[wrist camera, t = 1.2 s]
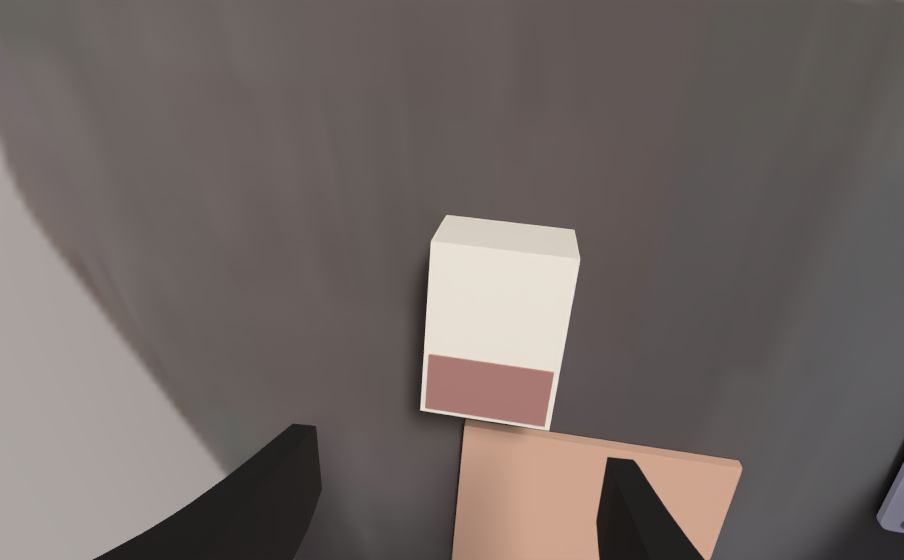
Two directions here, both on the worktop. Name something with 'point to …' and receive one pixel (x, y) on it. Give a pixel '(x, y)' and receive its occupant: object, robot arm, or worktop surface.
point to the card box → (497, 319)
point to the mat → (571, 492)
